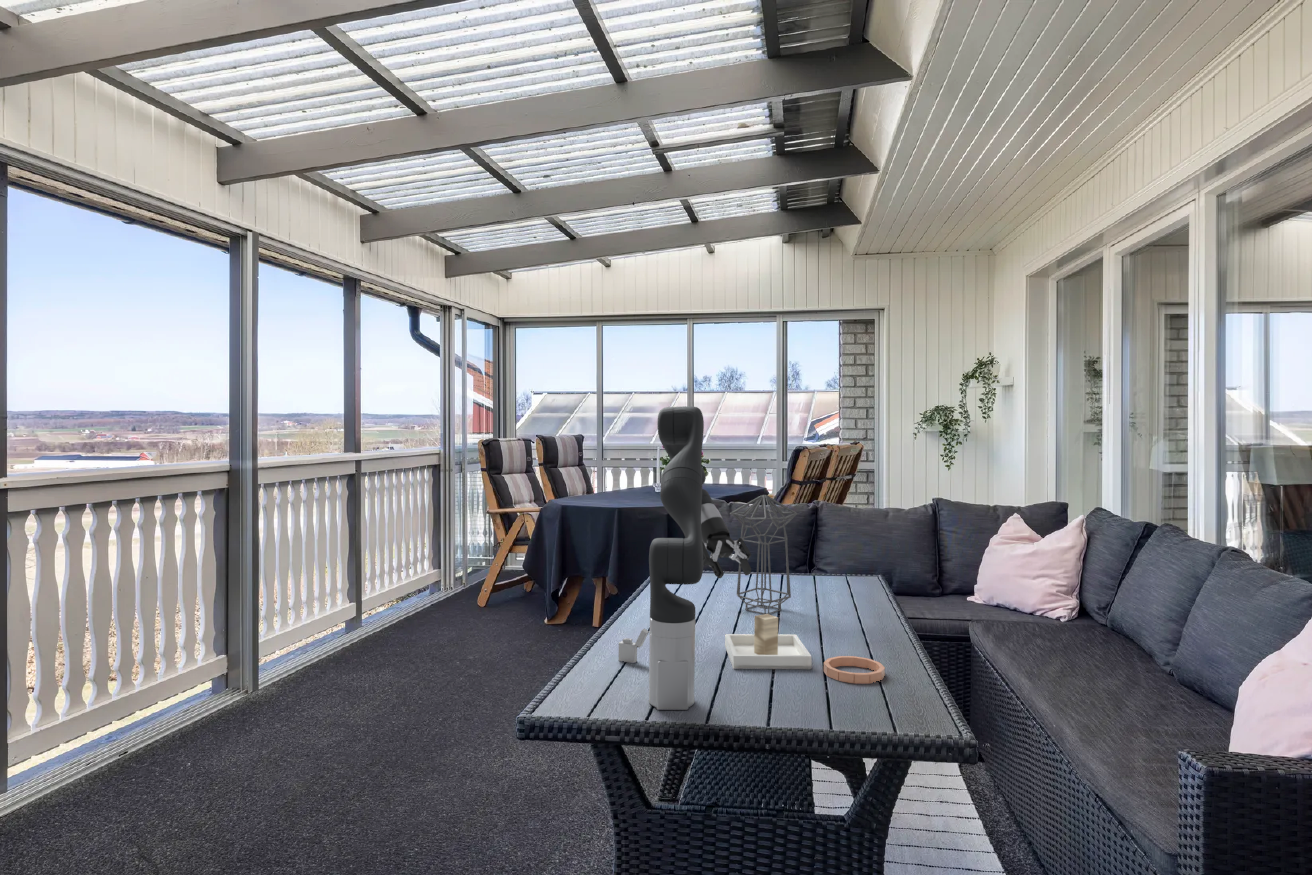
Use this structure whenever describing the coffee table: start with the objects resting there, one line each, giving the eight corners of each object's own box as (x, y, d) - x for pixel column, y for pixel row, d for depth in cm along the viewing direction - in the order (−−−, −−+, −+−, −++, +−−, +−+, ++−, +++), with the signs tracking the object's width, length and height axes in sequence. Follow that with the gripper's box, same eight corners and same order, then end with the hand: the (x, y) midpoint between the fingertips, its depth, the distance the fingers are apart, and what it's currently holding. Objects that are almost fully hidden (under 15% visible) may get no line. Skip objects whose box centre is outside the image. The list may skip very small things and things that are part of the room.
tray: (811, 669, 179) (811, 656, 179) (733, 668, 179) (733, 655, 179) (795, 646, 197) (796, 634, 197) (725, 645, 197) (725, 634, 197)
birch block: (777, 654, 187) (778, 617, 187) (764, 657, 185) (765, 619, 185) (767, 650, 191) (767, 613, 190) (754, 652, 189) (754, 615, 188)
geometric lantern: (799, 610, 234) (801, 495, 232) (767, 621, 223) (768, 499, 221) (758, 600, 245) (759, 490, 243) (725, 610, 234) (726, 494, 232)
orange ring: (891, 683, 170) (891, 674, 170) (832, 683, 170) (832, 674, 170) (873, 664, 183) (873, 656, 183) (818, 664, 183) (818, 655, 183)
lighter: (618, 660, 184) (618, 627, 184) (621, 658, 185) (621, 625, 185) (646, 664, 181) (646, 630, 181) (648, 662, 183) (649, 628, 183)
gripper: (693, 517, 200) (718, 568, 191) (737, 514, 208) (764, 563, 198) (681, 535, 205) (705, 586, 195) (725, 531, 212) (751, 581, 203)
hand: (735, 575), depth 197 cm, fingers open, 8 cm apart
